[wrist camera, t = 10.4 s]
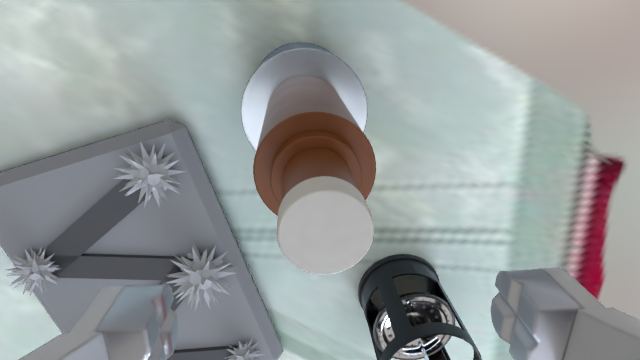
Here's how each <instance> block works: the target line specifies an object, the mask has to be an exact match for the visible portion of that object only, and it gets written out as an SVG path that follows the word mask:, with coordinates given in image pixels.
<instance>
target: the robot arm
mask: <svg viewBox="0 0 640 360" xmlns="http://www.w3.org/2000/svg"><path fill="white" fill-rule="evenodd" d="M495 286H496V287H497V289H498V290H499V293H498V294H497V295H496V296H495V297H494V298H493V299H492V305H491V317H492V323H493V325H494V328H495V330H496V332H497V333H498V335H499V337H500V338H501V339H503V340H505V341H506V342H508V343H509V344H511V345H510V350H509V352H510V354H511V355H512V357H513V358H514V360H640V320H639V319H637V318H635V317H632V316H630V315H628V314H626V313H623V312H621V311H619V310H616V309H614V308H606V307H604V306H603V305H602V304H601V303H600V302H599V301H598V300H597V299H596V298H595V297H594V296H593V295H592V294H590V293H589V292H588V291H587V290H586V289H585V288H584V287H583V286H582V285H581V284H580V283H579V282H577V281H576V280H575V279H574V278H573V277H572V276H571V275H570V274H569V273H568V272H567V271H566V270H564V269H562V268H559V267H554V268H540V269H532V270H513V271H500V272H499V274H498V275H497V278H496V283H495ZM173 300H174V297H173V292H172V287H171V286H170V285H169V284H161V285H127V286H125V285H118V286H105V287H103V288H101V289H100V290H99V292H98V293H97V295H96V296H95V297H94V299H93V300H92V302H91V303H90V305H89V306H88V307H87V309H86V310H85V312H84V313H83V314H82V316H81V317H80V319H79V320H78V321H77V323H76V324H75V326H74V327H73V328H72V330H71V331H70V333H64V334H61V335H59V336H57V337H56V338H54V339H52V340H51V341H49V342H47V343H46V344H44V345H42V346H41V347H39V348H37V349H36V350H34V351H32V352H31V353H29V354H27V355H25V356H24V357H22V358H20V359H19V360H167V359H168V358H169V357H170V356H171V355H173V353H174V349H175V346H176V342H177V335H178V321H177V314H176V313H175V312H174V311H173V310H172V309H171V308H170V307H171V305H172V302H173Z"/></svg>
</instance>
